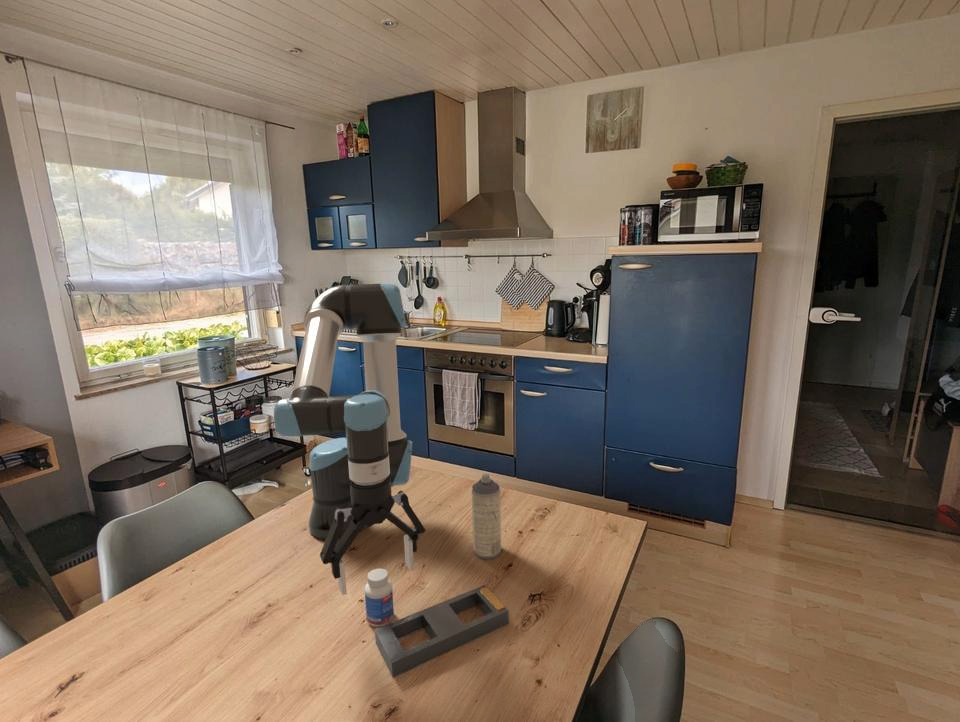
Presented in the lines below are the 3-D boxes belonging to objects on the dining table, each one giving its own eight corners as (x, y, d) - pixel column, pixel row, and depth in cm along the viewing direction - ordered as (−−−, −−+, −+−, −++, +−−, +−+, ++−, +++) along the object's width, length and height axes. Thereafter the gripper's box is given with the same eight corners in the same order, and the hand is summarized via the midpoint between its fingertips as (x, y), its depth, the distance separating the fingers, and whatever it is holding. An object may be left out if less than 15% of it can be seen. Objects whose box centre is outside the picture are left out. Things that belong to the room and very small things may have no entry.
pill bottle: (387, 629, 95) (384, 585, 93) (362, 625, 96) (358, 582, 94) (398, 609, 100) (395, 567, 98) (373, 606, 101) (370, 564, 99)
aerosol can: (504, 545, 122) (503, 471, 117) (496, 561, 115) (495, 483, 111) (478, 540, 124) (477, 467, 120) (469, 556, 118) (467, 479, 113)
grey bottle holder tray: (375, 643, 92) (374, 628, 91) (485, 597, 103) (484, 583, 103) (392, 677, 84) (391, 662, 83) (508, 623, 96) (508, 609, 95)
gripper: (305, 502, 82) (316, 613, 86) (438, 469, 95) (442, 567, 99) (297, 486, 89) (307, 590, 93) (422, 456, 101) (427, 549, 105)
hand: (377, 578), depth 96 cm, fingers open, 13 cm apart
